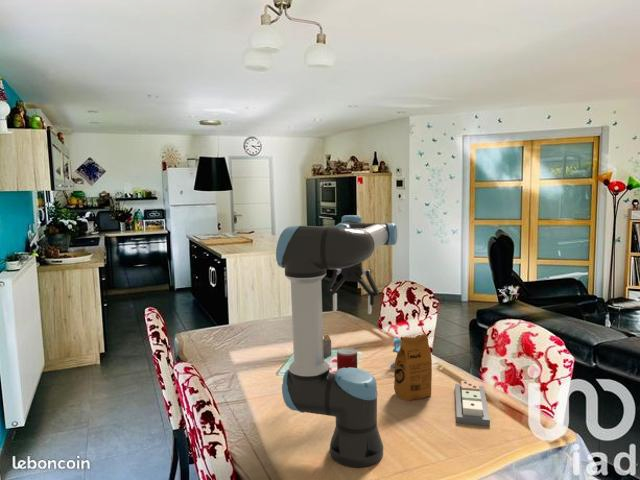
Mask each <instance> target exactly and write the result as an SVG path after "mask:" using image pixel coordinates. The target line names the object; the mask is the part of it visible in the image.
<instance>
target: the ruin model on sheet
mask: <svg viewBox="0 0 640 480" xmlns="http://www.w3.org/2000/svg"><path fill="white" fill-rule="evenodd" d="M323 354H324V358H326V357H331V356H332V339H331V337H330V335H329V334H328V333H327V334H323Z"/></svg>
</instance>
